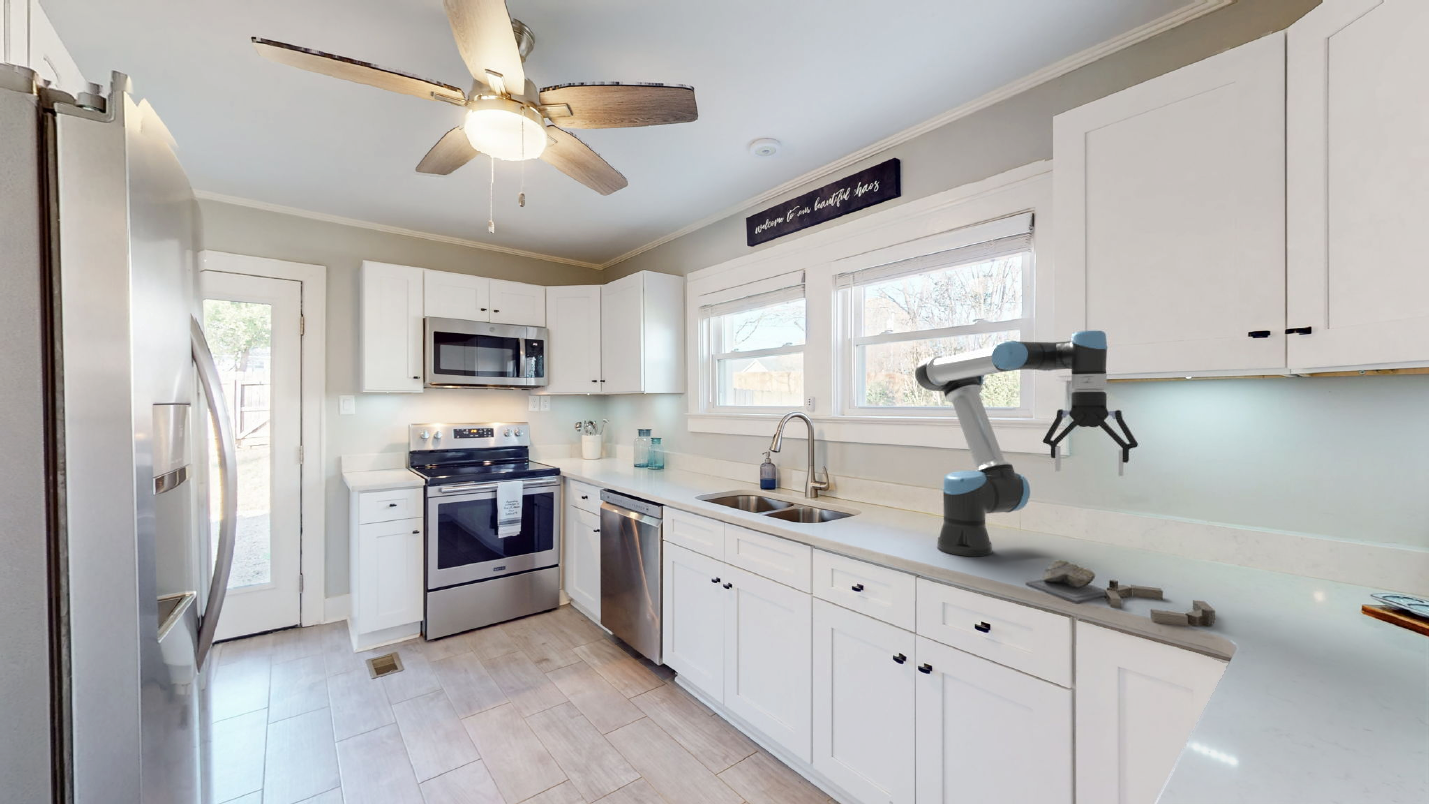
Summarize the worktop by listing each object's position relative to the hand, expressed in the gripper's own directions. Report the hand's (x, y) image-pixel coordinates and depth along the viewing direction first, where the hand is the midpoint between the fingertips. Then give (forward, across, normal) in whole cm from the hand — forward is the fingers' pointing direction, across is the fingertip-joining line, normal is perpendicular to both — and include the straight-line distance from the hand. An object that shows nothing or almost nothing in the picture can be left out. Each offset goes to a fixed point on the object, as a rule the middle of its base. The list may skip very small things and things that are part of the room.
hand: (1088, 473), depth 143 cm
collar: (+27, +15, -17) cm, 35 cm away
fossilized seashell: (+26, -2, -15) cm, 30 cm away
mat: (+27, -2, -16) cm, 31 cm away
